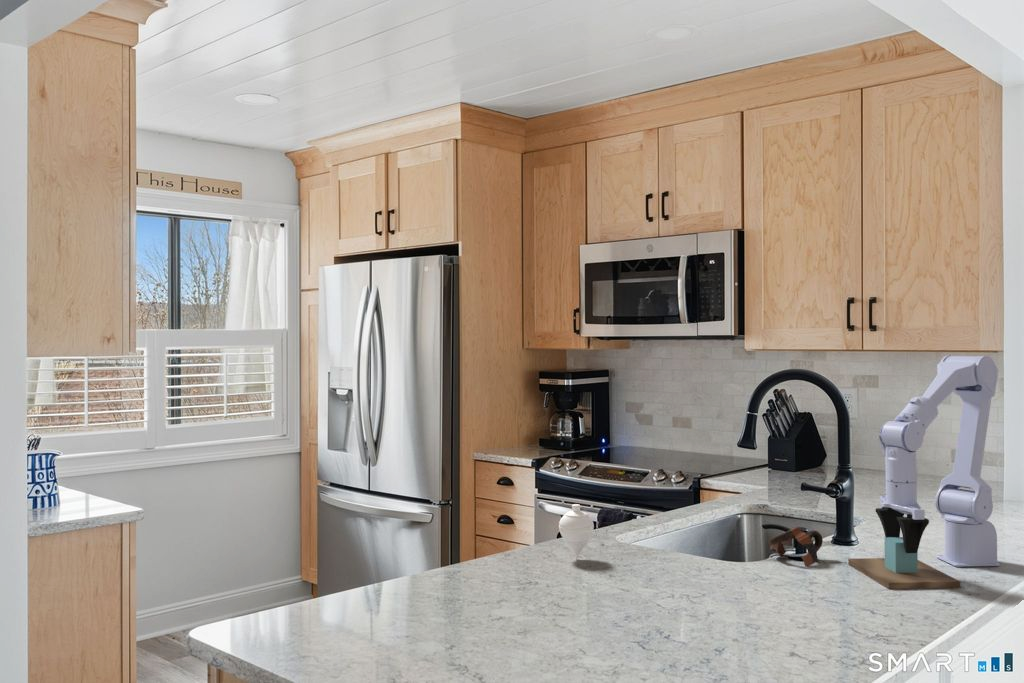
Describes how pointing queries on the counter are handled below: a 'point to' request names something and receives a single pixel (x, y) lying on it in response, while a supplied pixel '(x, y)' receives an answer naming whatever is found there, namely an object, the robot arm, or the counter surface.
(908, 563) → the teal block
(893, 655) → the counter surface
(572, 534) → the spinning top
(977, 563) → the robot arm
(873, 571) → the walnut board
